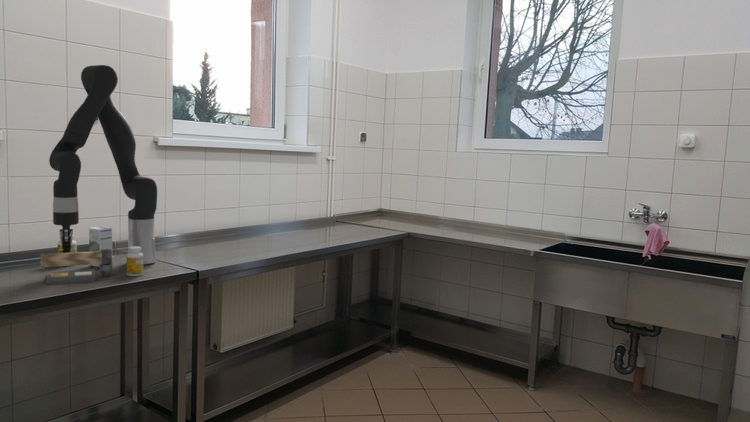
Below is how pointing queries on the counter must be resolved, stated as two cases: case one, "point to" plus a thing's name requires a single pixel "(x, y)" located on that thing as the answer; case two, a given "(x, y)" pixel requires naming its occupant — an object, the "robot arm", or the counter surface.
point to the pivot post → (106, 270)
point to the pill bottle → (73, 246)
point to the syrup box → (100, 240)
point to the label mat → (70, 276)
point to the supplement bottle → (134, 261)
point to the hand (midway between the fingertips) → (66, 260)
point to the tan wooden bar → (76, 258)
